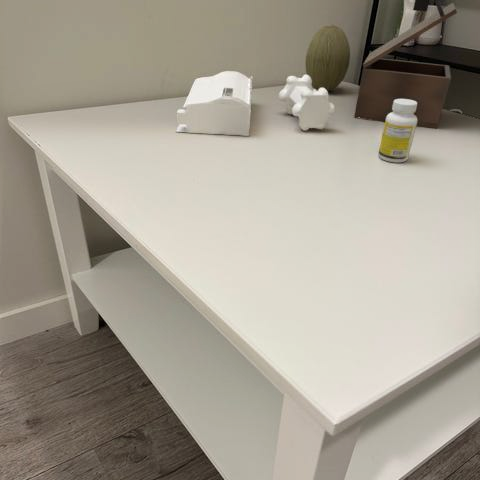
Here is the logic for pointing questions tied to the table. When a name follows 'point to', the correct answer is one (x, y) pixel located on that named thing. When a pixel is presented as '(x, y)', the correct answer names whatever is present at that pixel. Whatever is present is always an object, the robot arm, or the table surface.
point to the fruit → (328, 58)
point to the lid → (412, 33)
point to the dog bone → (306, 102)
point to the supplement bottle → (398, 131)
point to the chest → (403, 89)
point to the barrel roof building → (218, 105)
